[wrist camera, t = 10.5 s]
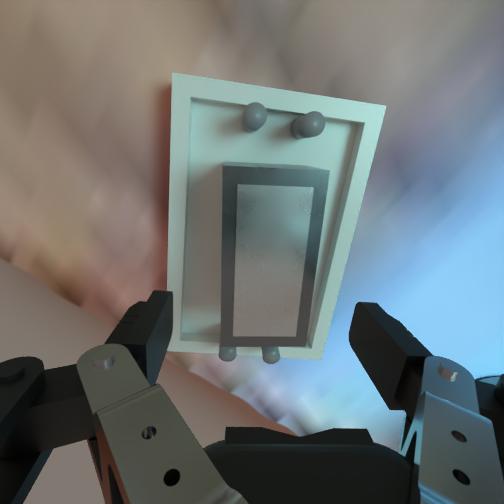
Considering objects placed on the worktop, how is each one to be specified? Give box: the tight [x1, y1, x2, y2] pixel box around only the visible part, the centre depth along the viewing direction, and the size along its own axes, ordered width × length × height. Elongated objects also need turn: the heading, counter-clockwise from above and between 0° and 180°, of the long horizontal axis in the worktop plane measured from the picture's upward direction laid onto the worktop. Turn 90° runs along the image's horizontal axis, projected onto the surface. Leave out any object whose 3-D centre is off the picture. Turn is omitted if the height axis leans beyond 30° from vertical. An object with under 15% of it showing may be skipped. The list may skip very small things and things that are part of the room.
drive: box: [220, 161, 330, 347], centre depth 17 cm, size 10×5×5 cm, turn 177°
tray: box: [167, 72, 386, 364], centre depth 18 cm, size 18×12×4 cm, turn 173°
